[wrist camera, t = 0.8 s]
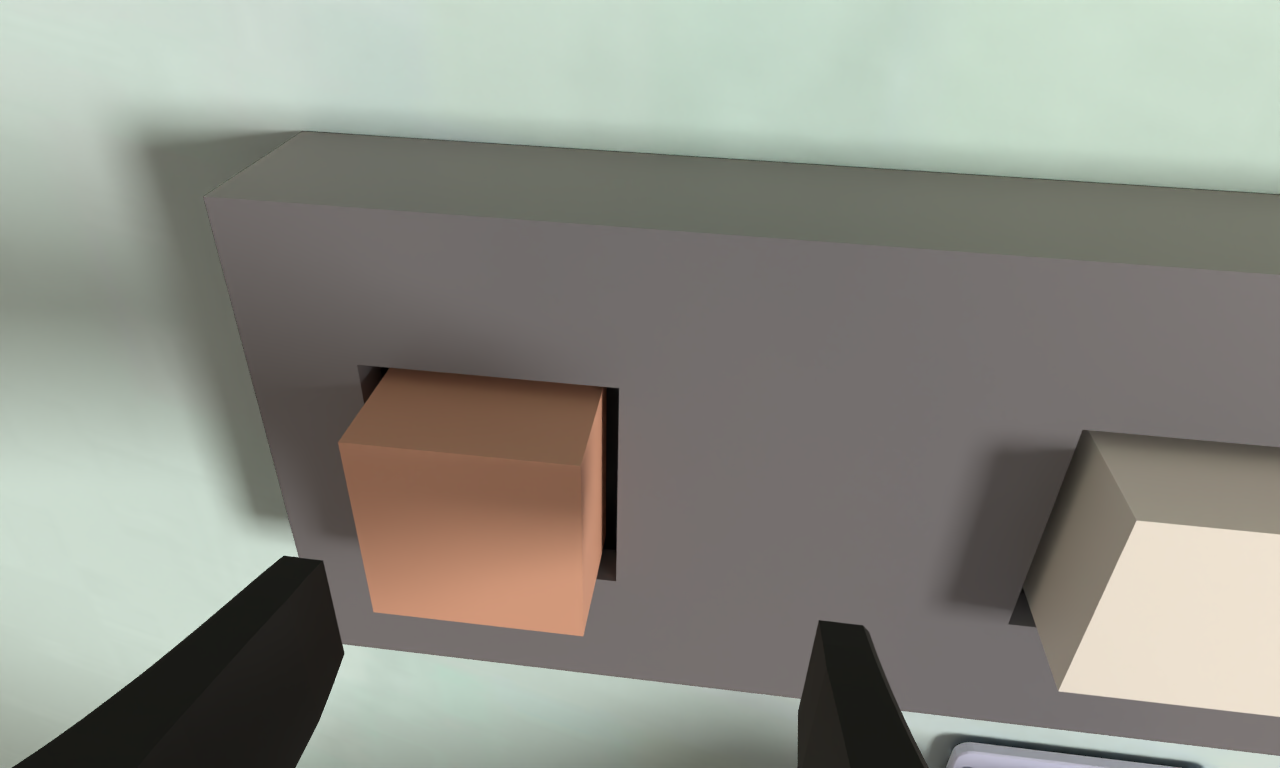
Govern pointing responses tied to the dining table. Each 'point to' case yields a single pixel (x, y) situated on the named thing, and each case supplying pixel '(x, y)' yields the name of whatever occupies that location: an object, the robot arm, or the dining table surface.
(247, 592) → the robot arm
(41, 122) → the dining table surface
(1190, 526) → the off-white key
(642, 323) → the panel
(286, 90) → the dining table surface
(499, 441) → the terracotta key
